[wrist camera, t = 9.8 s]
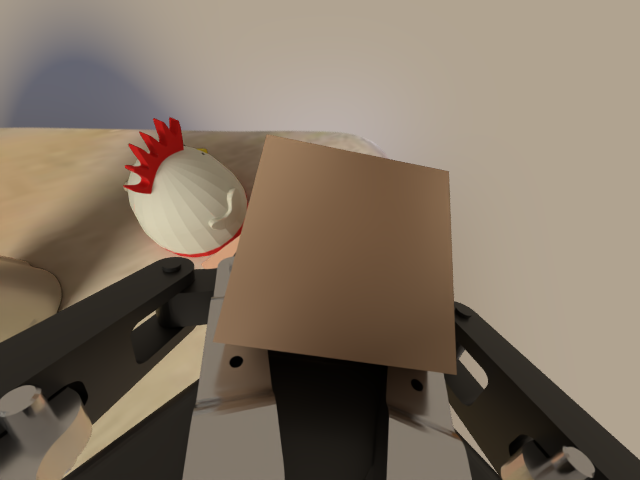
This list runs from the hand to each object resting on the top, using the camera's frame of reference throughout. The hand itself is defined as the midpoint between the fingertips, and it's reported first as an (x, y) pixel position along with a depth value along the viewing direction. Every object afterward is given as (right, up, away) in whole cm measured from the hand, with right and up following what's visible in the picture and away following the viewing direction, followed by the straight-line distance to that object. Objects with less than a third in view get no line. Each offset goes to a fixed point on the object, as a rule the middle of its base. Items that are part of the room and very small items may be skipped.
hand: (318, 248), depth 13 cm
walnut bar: (-1, -4, +6) cm, 7 cm away
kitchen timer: (-18, +5, +23) cm, 29 cm away
